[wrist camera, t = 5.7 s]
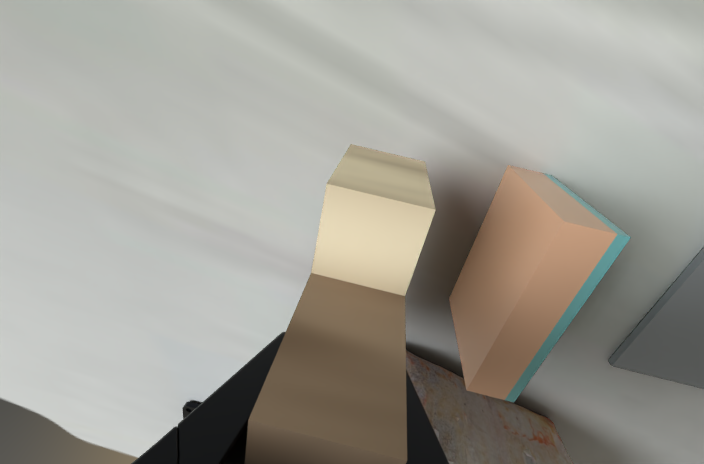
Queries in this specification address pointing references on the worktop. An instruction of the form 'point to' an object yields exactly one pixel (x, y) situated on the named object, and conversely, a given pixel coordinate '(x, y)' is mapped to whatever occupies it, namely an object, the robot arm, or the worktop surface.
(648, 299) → the worktop surface
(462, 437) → the food item
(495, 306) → the tile
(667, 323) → the pad
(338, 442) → the cream brown stepped block
